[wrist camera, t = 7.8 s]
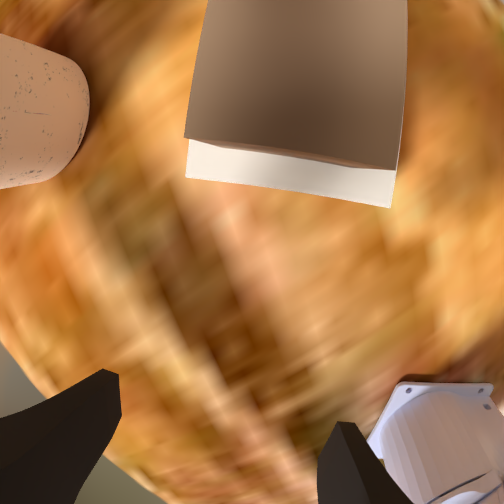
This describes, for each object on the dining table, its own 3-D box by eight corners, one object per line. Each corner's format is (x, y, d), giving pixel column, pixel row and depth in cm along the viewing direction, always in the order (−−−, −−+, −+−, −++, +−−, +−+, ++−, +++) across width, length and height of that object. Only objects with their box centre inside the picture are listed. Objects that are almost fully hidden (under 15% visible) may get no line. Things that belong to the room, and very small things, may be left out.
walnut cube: (365, 50, 11) (407, -5, 6) (351, 167, 13) (395, 170, 8) (240, 31, 12) (217, -34, 6) (222, 147, 13) (183, 137, 8)
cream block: (386, 46, 14) (407, 24, 11) (369, 199, 16) (390, 208, 13) (226, 22, 14) (214, -6, 11) (204, 174, 17) (185, 177, 14)
